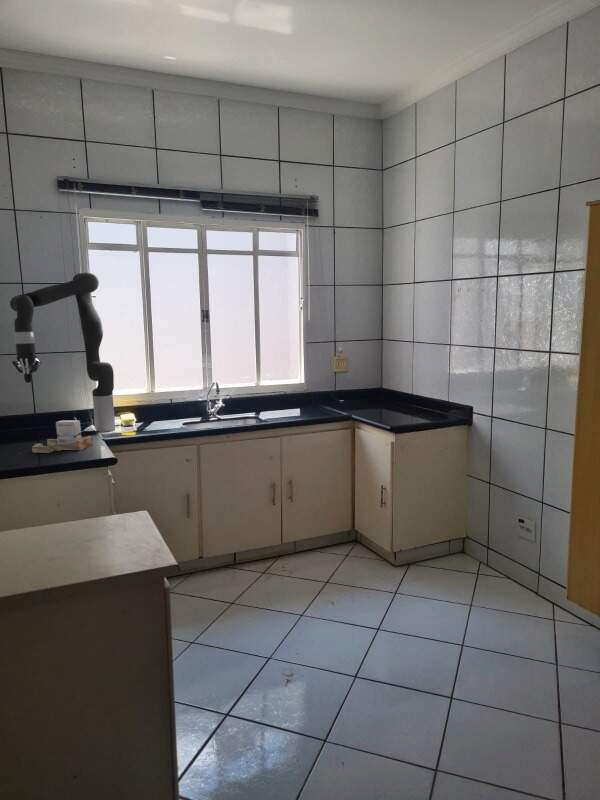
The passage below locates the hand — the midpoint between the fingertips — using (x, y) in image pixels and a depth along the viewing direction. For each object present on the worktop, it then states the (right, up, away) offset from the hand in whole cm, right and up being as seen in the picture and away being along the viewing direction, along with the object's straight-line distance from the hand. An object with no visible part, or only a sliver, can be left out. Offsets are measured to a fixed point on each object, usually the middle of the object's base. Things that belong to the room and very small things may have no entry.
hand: (28, 382), depth 248 cm
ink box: (+22, -28, -8) cm, 37 cm away
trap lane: (+18, -28, -7) cm, 34 cm away
